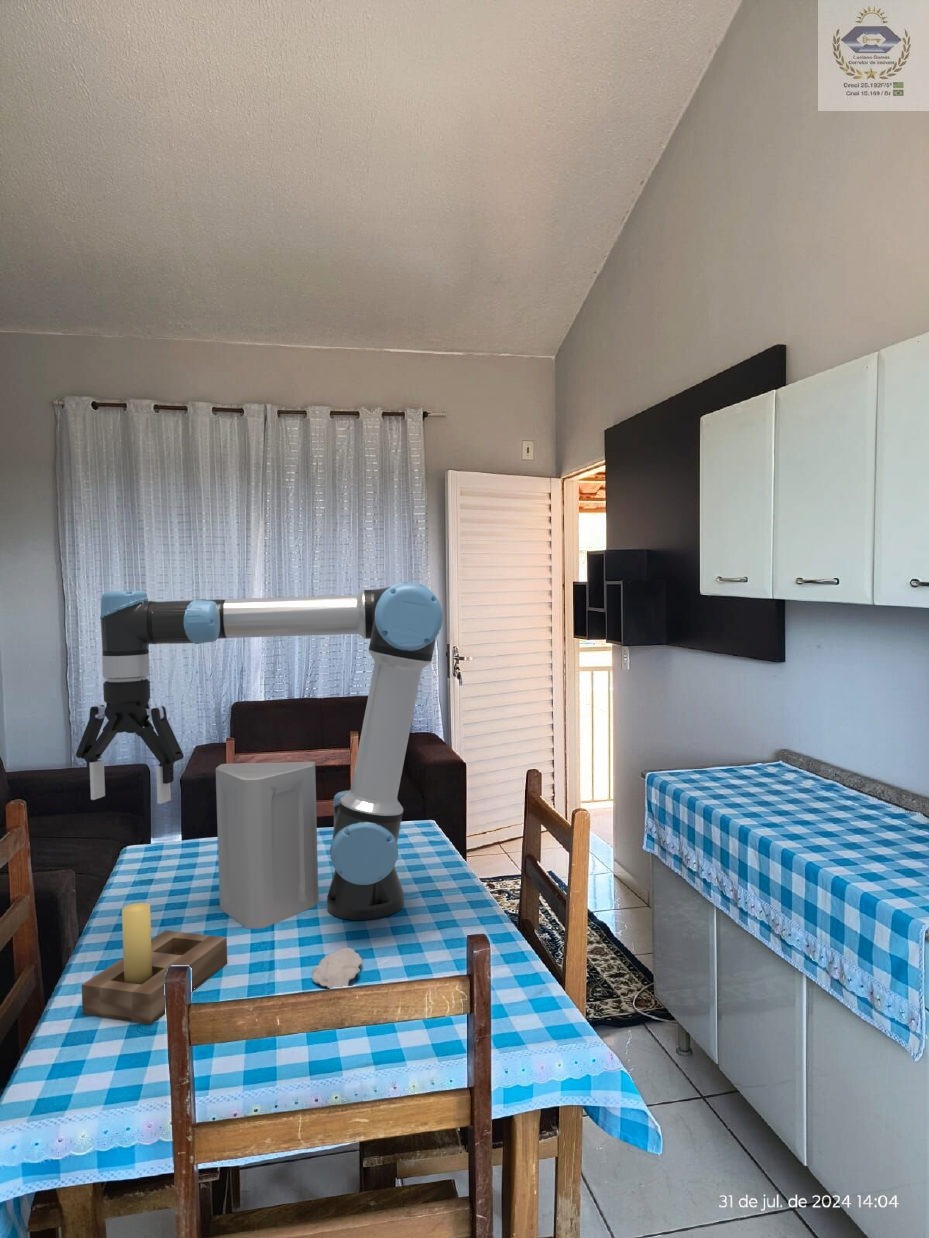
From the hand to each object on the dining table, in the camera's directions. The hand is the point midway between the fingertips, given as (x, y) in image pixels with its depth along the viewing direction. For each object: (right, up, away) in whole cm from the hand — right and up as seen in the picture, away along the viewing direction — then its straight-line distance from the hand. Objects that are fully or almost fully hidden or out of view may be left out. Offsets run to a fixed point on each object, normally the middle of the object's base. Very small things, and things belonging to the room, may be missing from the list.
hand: (130, 799), depth 143 cm
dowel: (+9, -26, -18) cm, 33 cm away
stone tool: (+38, -27, -10) cm, 48 cm away
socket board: (+10, -27, -13) cm, 32 cm away
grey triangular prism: (+19, -26, +16) cm, 36 cm away
